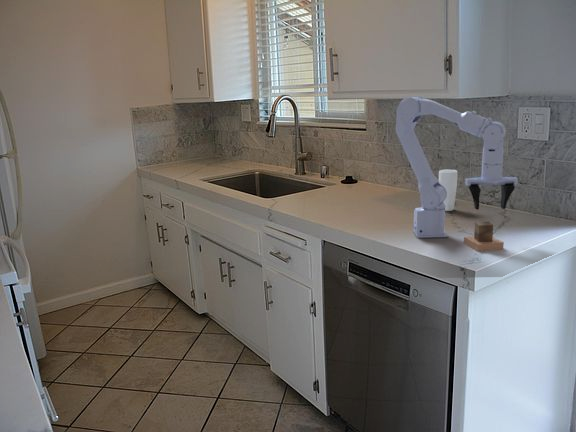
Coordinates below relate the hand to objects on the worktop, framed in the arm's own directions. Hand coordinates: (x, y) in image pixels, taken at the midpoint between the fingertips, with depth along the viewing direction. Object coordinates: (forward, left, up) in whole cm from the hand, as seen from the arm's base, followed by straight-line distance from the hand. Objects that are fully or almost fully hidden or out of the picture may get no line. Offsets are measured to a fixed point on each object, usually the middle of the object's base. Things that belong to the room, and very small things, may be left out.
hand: (489, 208), depth 155 cm
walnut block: (-3, -6, -8) cm, 10 cm away
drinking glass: (-3, +39, -10) cm, 41 cm away
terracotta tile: (-3, -6, -10) cm, 12 cm away
